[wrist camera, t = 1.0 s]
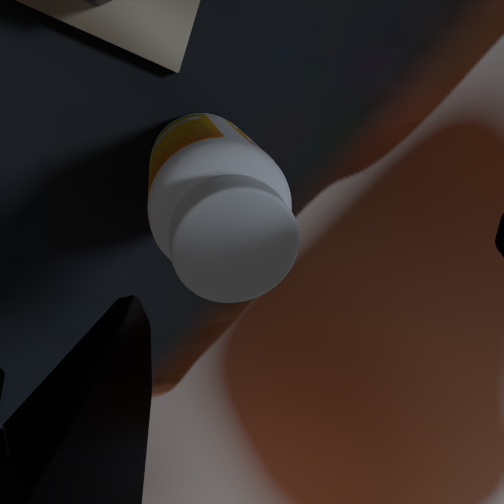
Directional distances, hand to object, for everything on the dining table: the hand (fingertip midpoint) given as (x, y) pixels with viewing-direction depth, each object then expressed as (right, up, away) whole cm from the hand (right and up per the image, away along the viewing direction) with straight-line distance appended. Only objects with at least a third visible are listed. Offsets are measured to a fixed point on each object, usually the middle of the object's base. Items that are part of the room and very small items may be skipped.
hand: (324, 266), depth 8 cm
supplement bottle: (-4, +5, +10) cm, 12 cm away
